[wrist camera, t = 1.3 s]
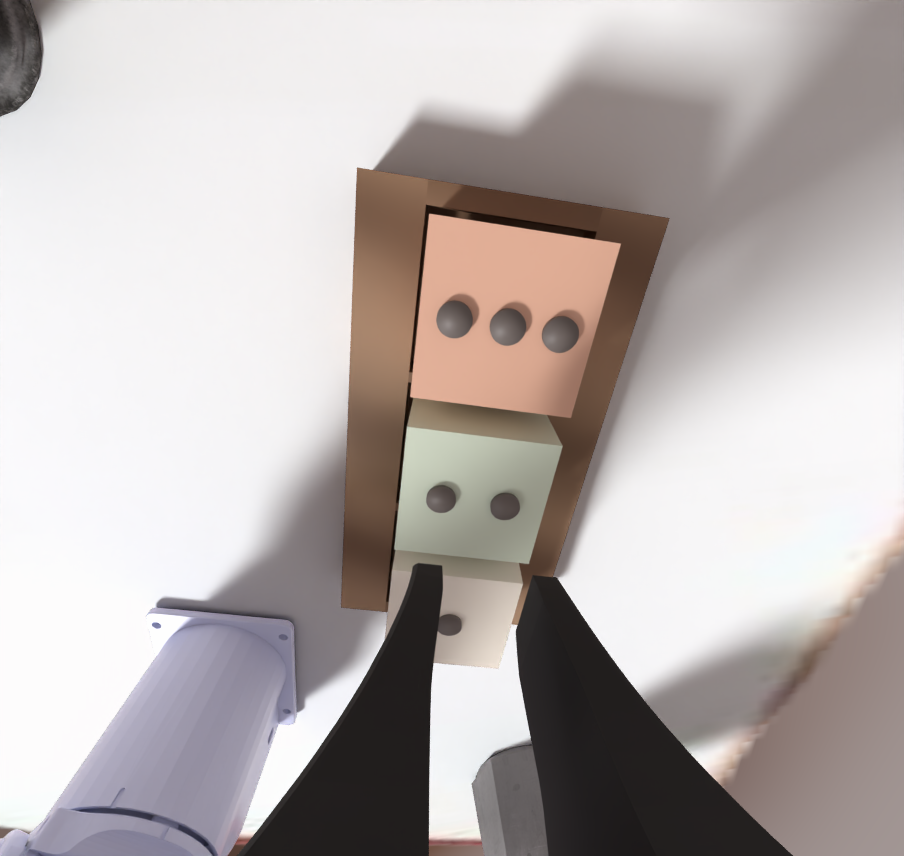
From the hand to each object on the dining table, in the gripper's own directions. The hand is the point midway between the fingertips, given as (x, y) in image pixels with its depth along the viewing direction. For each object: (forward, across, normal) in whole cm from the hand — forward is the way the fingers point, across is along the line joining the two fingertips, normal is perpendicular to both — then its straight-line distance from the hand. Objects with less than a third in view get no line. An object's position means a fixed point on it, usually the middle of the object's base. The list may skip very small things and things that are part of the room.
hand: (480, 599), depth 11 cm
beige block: (+7, 0, +6) cm, 10 cm away
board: (+9, 0, 0) cm, 9 cm away
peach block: (+7, 0, -6) cm, 10 cm away
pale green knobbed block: (+7, 0, 0) cm, 7 cm away
